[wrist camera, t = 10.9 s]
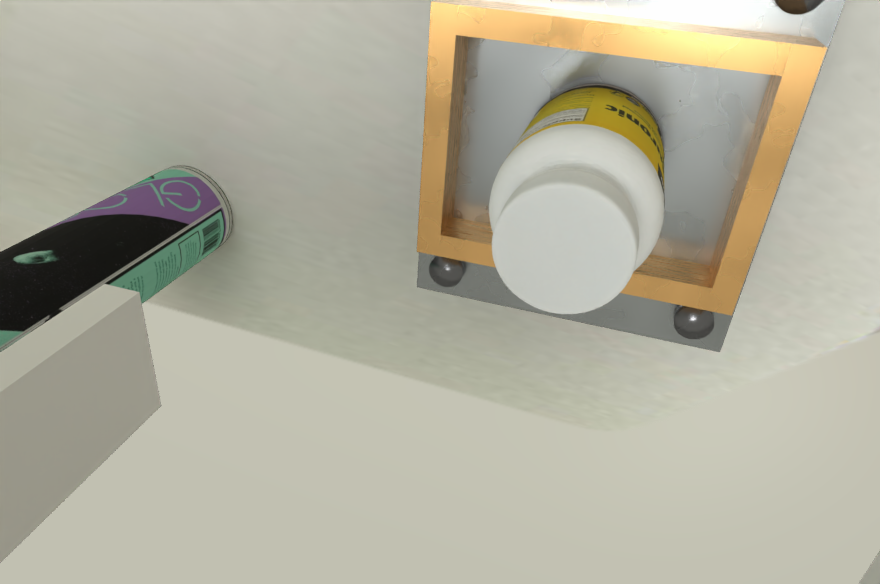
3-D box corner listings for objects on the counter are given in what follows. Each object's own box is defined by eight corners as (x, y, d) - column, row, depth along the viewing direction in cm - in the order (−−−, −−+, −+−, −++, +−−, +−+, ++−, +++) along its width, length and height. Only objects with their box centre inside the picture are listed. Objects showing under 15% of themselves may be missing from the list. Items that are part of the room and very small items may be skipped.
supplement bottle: (685, 185, 26) (693, 310, 18) (557, 230, 28) (512, 357, 20) (636, 54, 24) (619, 125, 16) (504, 114, 26) (431, 202, 18)
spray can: (205, 154, 38) (-160, 343, 21) (247, 239, 40) (-55, 472, 23) (137, 177, 40) (-241, 364, 23) (181, 257, 42) (-138, 480, 25)
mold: (446, 244, 36) (403, 307, 30) (473, -95, 28) (422, -98, 22) (713, 296, 33) (722, 378, 27) (833, -66, 25) (885, -60, 19)
